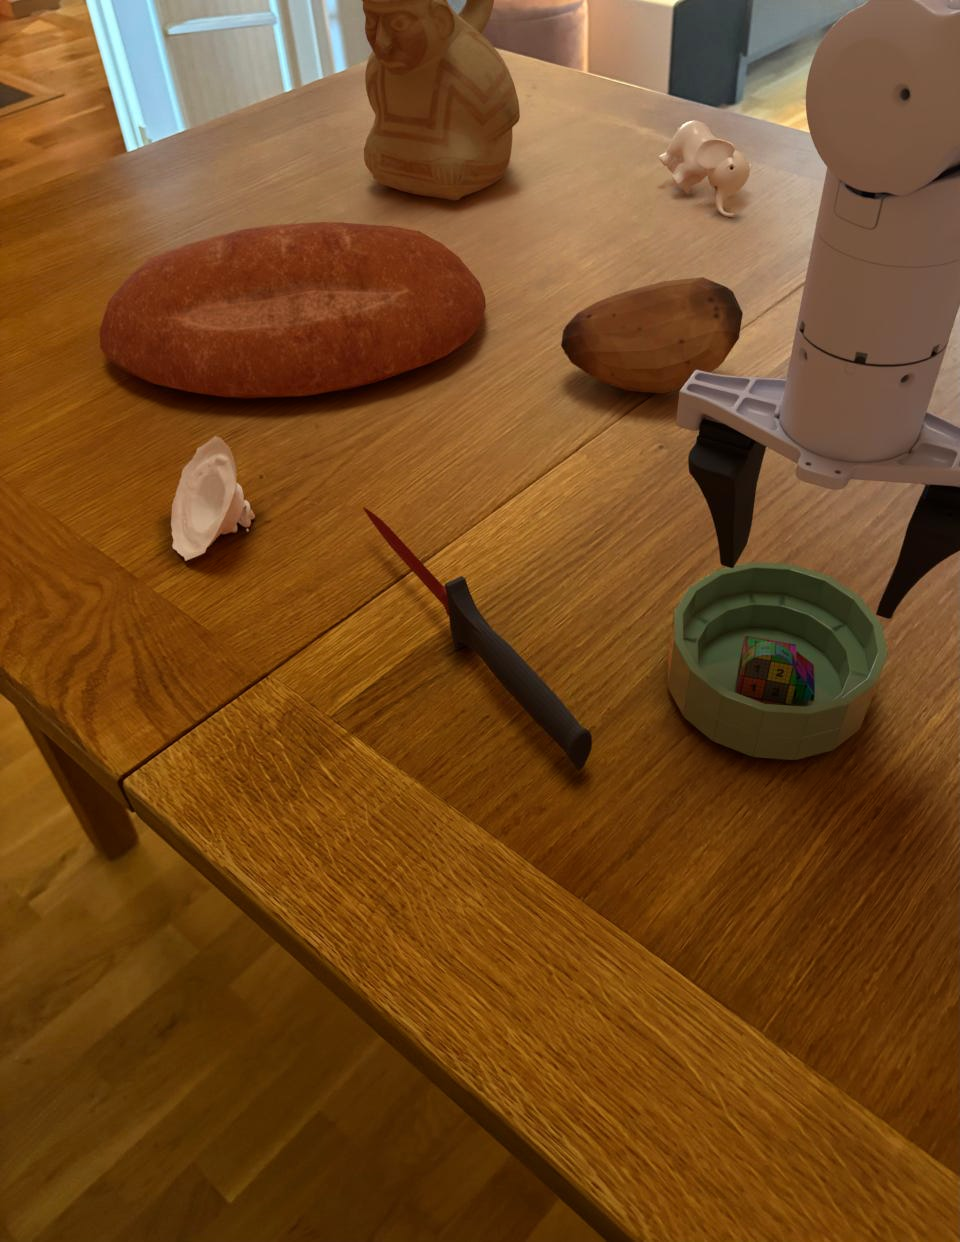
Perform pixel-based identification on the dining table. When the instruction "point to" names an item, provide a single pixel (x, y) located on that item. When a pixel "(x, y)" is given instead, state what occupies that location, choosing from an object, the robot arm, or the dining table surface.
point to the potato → (655, 334)
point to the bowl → (786, 612)
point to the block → (774, 672)
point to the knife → (498, 655)
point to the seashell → (207, 500)
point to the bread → (291, 310)
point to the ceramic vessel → (436, 98)
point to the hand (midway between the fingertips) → (808, 578)
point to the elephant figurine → (706, 162)
